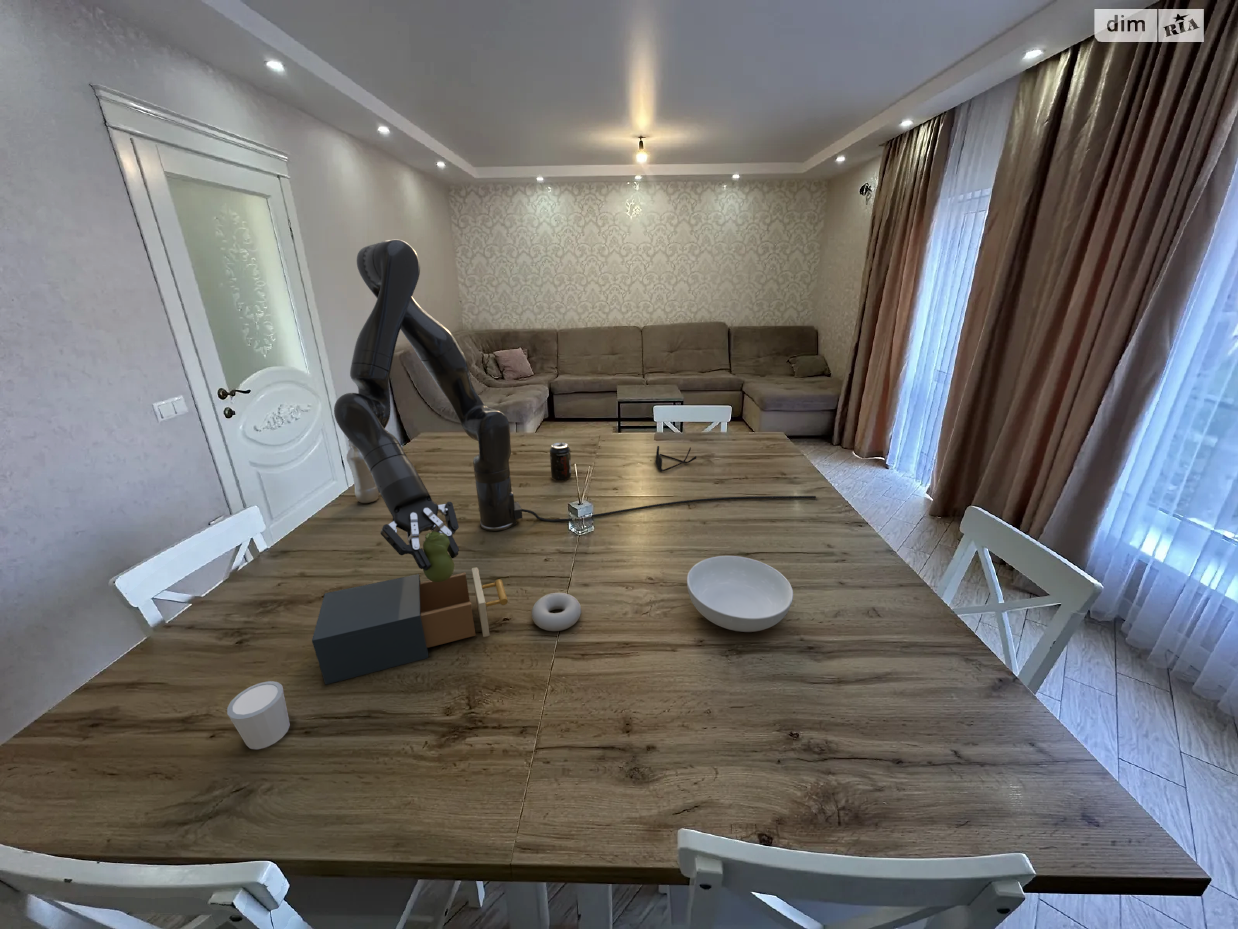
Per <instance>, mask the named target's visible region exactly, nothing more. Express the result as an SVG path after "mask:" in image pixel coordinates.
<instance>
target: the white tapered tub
mask: <svg viewBox="0 0 1238 929" xmlns="http://www.w3.org/2000/svg"><path fill="white" fill-rule="evenodd" d="M226 713H227V716H228V718H229V720H230V721H231V723H232V724H233V726H234V728H235V729H236V731H237V732H238V734H239V736H240V737H241V739H242V740H243V742H244V744H245V746H247V747H248V748H249V749H251V750H261V749H267V748H268V747H270V746H272V745H274V744H276V743H277V742H278V741H280V740H281V739H283V738H284V736H286V734H287V733H288V732H289V730H290V727H291V724H290V718H289V713H288V708H287V703H286V698H285V693H284V688H283V684H281V683H280V682H278V681H273V680H268V681H263V682H258V683H256V684H254V685H251V686H249V687H247V688H245V689H244V690H242V691H241V692H239V693H238V694H237V695H236V696H235V697H234V698H233V699H231V701H230V702H229V704H228V706H227V708H226Z"/></svg>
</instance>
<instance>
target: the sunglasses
mask: <svg viewBox="0 0 1238 929" xmlns="http://www.w3.org/2000/svg"><path fill="white" fill-rule="evenodd" d="M691 449H692V448H691V447H689V449H688V450H687V454H686V456H685V458H684V459H683V460H682V459H680V458H679V459H678V458H676V457H673V456H669V455H666V454H662V453H660V445H657V447H656V452H655V453H656V454H655V462H654V463H655V465H656V468H657V469H658V471H659V472H661V473H662V472H666V471H669V470H671V469H673V468H676V467H678V466H680V465H682V464H689V463H691V462H693V461H695V460H696V459H697V455H695V456H694V457H692V458H691V459H689V460H688V461H687V459H688V457H689V455H690V452H691ZM662 457H664V458H668V459H671V460H674V461H677V462H679V463H677V464H674V465H671V466H668V467H666V468H664V469H663V468H662V467H663V458H662Z"/></svg>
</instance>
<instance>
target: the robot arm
mask: <svg viewBox="0 0 1238 929" xmlns="http://www.w3.org/2000/svg"><path fill="white" fill-rule="evenodd" d="M356 268H357V270H358V273H359V275H360V277H361V280H362V281H363V282H364V284H365V285H366V286H367V288H368V289H369V290H370V291H371V293H372V294H373V295H374V297H375V298H376V301H375V303H374V305H373V308H372V309H371V312H370V314H369V316H368V317H367V318H366V320H365V322H364V324H363V325H362V327H361V329H360V331H359V334H358V336H357V338H356V341H355V344H354V349H353V353H352V358H351V364H350V369H349V377H350V379H351V381H352V382H353V383H354V384H355V386H356V387H357V390H358V392H347V393H343V394H342V395H340V396H339V397H338V398H337V400H336V401H335V403H334V405H333V415H334V419H335V422H336V424H337V426H338V428H339V429H340V430H341V432H342V433H343V434H344V435H345V437H346V438H347V439H348V440H350V441H351V443H352V444H353V445H354V446H355V447H356V448H357V449H358V451H359V452H360V453H361V455H362V456H363V459H364V461H365V463H366V465H367V467H368V468H369V470H370V472H371V474H372V477H373V480H374V482H375V485H376V487H377V490H378V492H379V495H380V497H381V498H382V500H383V502H384V504H385V506H386V507H387V509H388V511H389V514H390V516H392V521H391V522H390V523H388V524H383V526H382V528H381V530H380V535H381V536H382V537H383V539H385V541H386V542H387V543H388V544H389V545H390V546H391V547H392V548H393V549H394V551H395V552H396V553H397V554H398V555H400V556H404V555H411V556H412V557H413V560H414V561H415V562H416V565H417V567H418V568H419V569H420V570H423V569H424V571H426V570H429V569H430V567H431V564H430V562H429V561H428V559H427V557H426V555H425V553H424V550H423V547H422V548H421V547H420V546H421V545H420V534H422V533H423V532H428V531H430V532H433V531H435V532H439V533H443V534H447V536H448V539H449V541H450V544H449V547H448V549H447V551H448V554H449V555H450V557H451V558H452V560H454V559H455V558H457V557H458V556H459V551H460V547H459V546H458V544H457V542H456V540H455V538H454V536H453V535H455V534H456V532H457V531H458V530H459V526H460V525H459V523H458V518H457V515H456V512H455V508H454V504H453V502H452V501H446V503H443V504H437V503H436V502H435V501H434V500H433V499H432V497H431V494H430V493H429V491H428V488H427V487H426V485H425V483H424V481H423V480H422V478H421V476H420V475H419V473H418V471H417V469H416V467H415V466H414V464H413V463H412V461H411V460H410V459H409V457H408V455H407V454H406V452H405V450H404V448H403V446H402V445H401V443H400V441H399V440H398V438H397V437H396V436H395V435H393V434H392V433H391V432H389V431H388V430H387V429H386V428H387V427H388V424H389V421H390V419H391V408H392V406H391V391H390V378H391V372H392V368H393V367H392V366H393V362H394V357H395V352H396V351H395V350H396V347H397V346H396V345H397V342H398V338H399V334H400V331H401V332H402V334H403V335H404V337H405V339H406V340H407V341H408V343H409V344H410V345H411V347H412V349H413V350H414V352H415V353H416V355H417V357H418V359H420V362H421V363H422V364H423V366H424V368H425V369H426V370H427V372H428V373H429V375H430V376H431V377H432V379H433V381H434V382H435V384H436V385H437V386H438V388H439V390H440V391H441V393H442V394H443V395H444V396H445V398H446V399H447V400H448V402H449V403H450V405H451V407H452V409H453V411H454V413H455V415H456V416H457V419H458V421H459V423H460V424H461V427H462V429H463V430H464V433H466V435H467V436H468V437H470V438H471V439H472V440H475V441H477V442H478V443H477V444H478V454H476V455H475V456H474V457H473V459H472V465H473V473H474V480H475V490H476V497H477V504H478V512H479V523H480V527H481V528H482V529H483V530H485V531H487V532H499V531H504V530H507V529H509V528H511V527H513V526H516V525H517V520H520V519H521V520H522V519H523V513H528V514H531V515H533V516H534V517H535V518H536V519H537V520H539V521H541V522H548V523H549V522H550V523H551V522H552V523H558V522H560V523H561V522H573V521H572V518H573V517H569V518H556V519H549V518H545V517H541V516H539V515H538V513H537V512H536V511H533V510H530V509H525V508H522V506H521V505H520V503H519V501H515V498H514V497H515V496H514V492H513V490H512V479H511V478H512V477H511V469H510V458H511V455H512V440H511V427H510V422H509V420H508V418H507V415H505V413H503V412H502V411H500V410H498V409H494V408H491V407H489V406H488V405H486V404H485V402H484V401H483V400H482V399H481V397H480V395H479V394H478V392H477V391H476V389H475V387H474V385H473V382H472V378H471V373H470V367H469V362H468V360H467V357H466V355H465V353H464V351H463V350H462V348H461V346H460V345H459V343H458V341H457V340H456V338H455V337H454V334H452V333H451V331H450V330H449V329H447V327H446V326H444V325H443V324H442V323H441V322H439V321H438V319H436V318H435V317H433V316H432V315H431V314H430V313H429V312H427V311H426V310H425V309H423V307H421V305H420V304H419V303H418V302H417V301H416V300H415V298H414V296H413V295H414V292H415V290H416V287H417V284H418V282H419V279H420V275H421V262H420V258H419V255H418V253H417V252H416V250H415V249H414V248H413V247H412V245H411V244H409V243H408V242H406V241H404V240H402V239H397V238H396V239H395V238H394V239H387V240H383V241H380V242H376V243H373V244H369V245H367V246H364V247H362V248H361V249H360V250H359V251H358V252H357V254H356ZM816 498H817V496H816V495H761V496H760V495H759V496H756V495H754V496H752V495H751V496H725V497H723V496H721V497H707V498H697V499H685V500H678V501H670V502H663V503H656V504H655V503H654V504H649V505H644V506H643V505H642V506H637V507H631V508H624V509H619V510H613V511H607V512H601V513H595V514H591V515H592V517H591V518H596V517H604V516H609V515H614V514H615V515H616V514H622V513H627V512H632V511H638V510H639V511H640V510H644V509H651V508H657V507H666V506H673V505H679V504H689V503H698V502H708V501H709V502H710V501H726V500H727V501H728V500H760V499H761V500H762V499H763V500H764V499H766V500H767V499H769V500H771V499H772V500H773V499H816ZM439 512H440V514H441V516H443V517H444V519H445V522H446V525H445V523H444V522H443V521H442V520H441V519H440V518H439V517H438V513H439ZM397 528H398V529H400V530H402V531H403V532H406V539H407V543H406V542H405V541H404V539H403V538H402V537H401V536H400V535H399V533H397V532H398V529H397ZM424 571H423V572H424Z"/></svg>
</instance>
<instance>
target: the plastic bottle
mask: <svg viewBox="0 0 1238 929" xmlns="http://www.w3.org/2000/svg"><path fill="white" fill-rule="evenodd" d="M347 443H348V447H349V450H348V451H347V453H346V457H345V459H346V461H347V464H348V466H349V469H350V472H351V475H352V478H353V484H354V485H353V486H354V497H355V499H356V501H358V502H359V503H361V504H368V503H373V502H375V501H377V500H378V498H379V496H380V493H379V492H378V490H377V487H376V485H375V482H374V480H373V477H372V474H371V472H370V470H369V468H368V467H367V465H366V463H365V461H364V459H363V456H362V455H361V453H360V452H359V451H358V449H357V448H356V447H355V446H354V445H353V444H352V443H351V441H350V440H349V439H348V440H347Z"/></svg>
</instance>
